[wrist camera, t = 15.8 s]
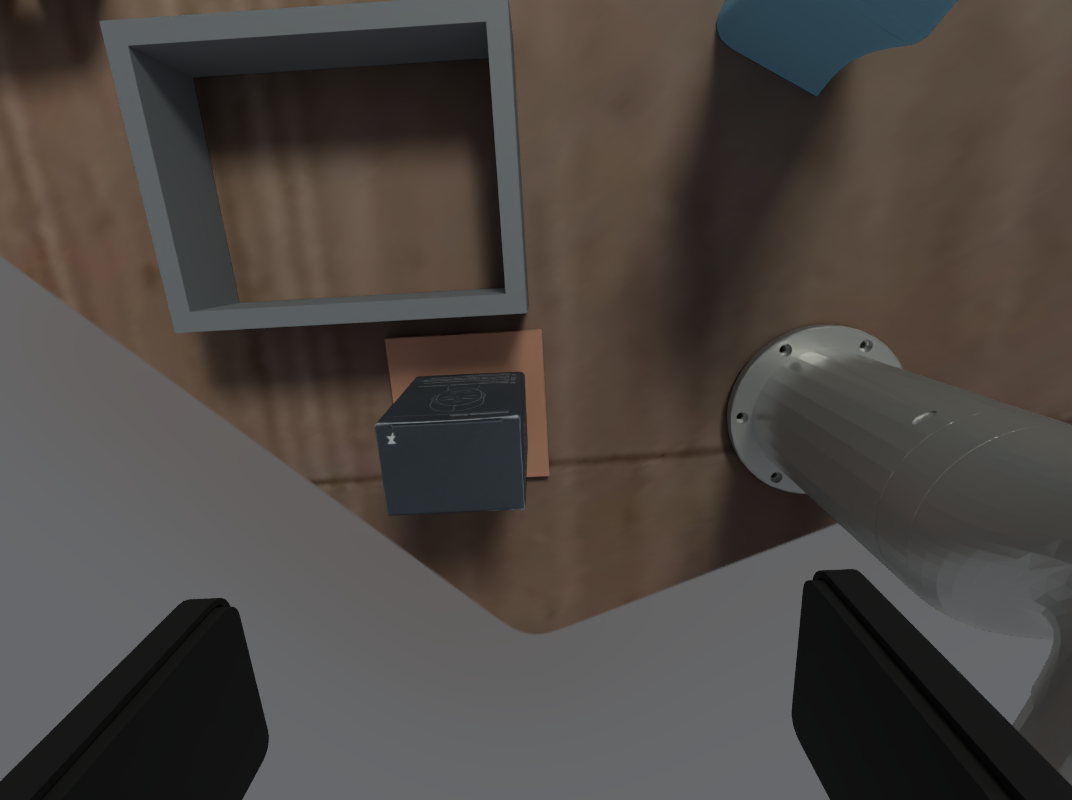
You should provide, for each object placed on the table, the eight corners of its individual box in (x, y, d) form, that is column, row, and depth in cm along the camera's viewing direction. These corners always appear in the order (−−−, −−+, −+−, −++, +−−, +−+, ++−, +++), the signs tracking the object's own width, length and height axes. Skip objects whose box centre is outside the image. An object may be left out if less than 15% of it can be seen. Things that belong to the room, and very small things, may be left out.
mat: (541, 329, 38) (541, 330, 37) (549, 472, 41) (549, 475, 40) (387, 337, 38) (384, 339, 37) (406, 479, 41) (404, 483, 40)
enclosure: (512, 34, 33) (507, -8, 27) (528, 303, 37) (527, 313, 32) (169, 57, 33) (99, 20, 28) (226, 321, 38) (174, 333, 32)
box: (424, 448, 40) (384, 518, 29) (415, 374, 38) (371, 421, 28) (529, 444, 39) (526, 513, 29) (526, 369, 38) (521, 414, 28)
